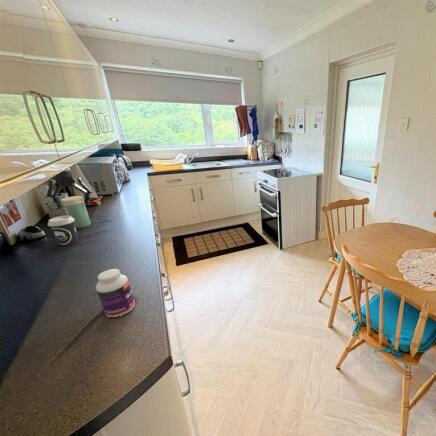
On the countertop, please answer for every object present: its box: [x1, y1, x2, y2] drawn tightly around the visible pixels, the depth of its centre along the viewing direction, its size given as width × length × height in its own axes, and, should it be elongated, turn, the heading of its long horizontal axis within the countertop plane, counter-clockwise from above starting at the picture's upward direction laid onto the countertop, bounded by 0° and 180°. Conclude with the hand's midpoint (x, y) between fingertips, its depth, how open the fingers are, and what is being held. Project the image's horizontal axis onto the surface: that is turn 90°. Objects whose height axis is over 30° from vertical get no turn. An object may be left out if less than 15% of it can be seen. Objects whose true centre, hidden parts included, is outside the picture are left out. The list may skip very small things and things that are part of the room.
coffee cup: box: [47, 215, 79, 247], centre depth 114 cm, size 10×10×15 cm
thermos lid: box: [60, 195, 85, 207], centre depth 135 cm, size 9×9×3 cm
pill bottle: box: [95, 268, 136, 318], centre depth 74 cm, size 8×8×14 cm
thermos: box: [63, 201, 92, 229], centre depth 138 cm, size 9×9×16 cm
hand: (75, 206), depth 137 cm, fingers open, 13 cm apart
